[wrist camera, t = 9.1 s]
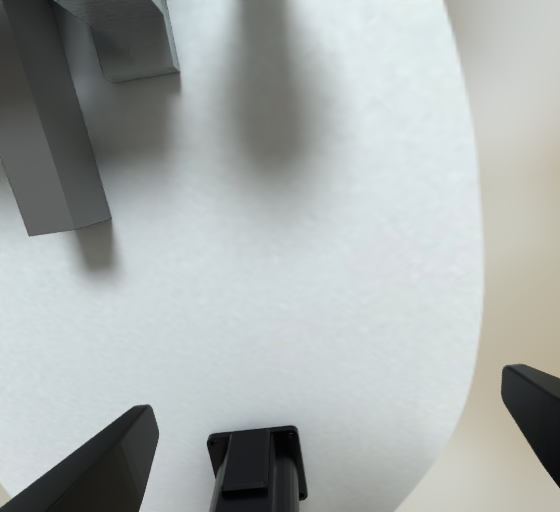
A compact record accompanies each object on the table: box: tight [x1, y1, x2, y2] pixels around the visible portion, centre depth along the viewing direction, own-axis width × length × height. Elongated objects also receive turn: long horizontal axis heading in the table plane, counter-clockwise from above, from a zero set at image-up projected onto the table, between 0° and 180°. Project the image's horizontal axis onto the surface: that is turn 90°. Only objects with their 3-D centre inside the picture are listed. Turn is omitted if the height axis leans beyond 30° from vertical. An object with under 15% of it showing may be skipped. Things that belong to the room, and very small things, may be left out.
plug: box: [0, 0, 112, 236], centre depth 15 cm, size 16×4×5 cm, turn 8°
